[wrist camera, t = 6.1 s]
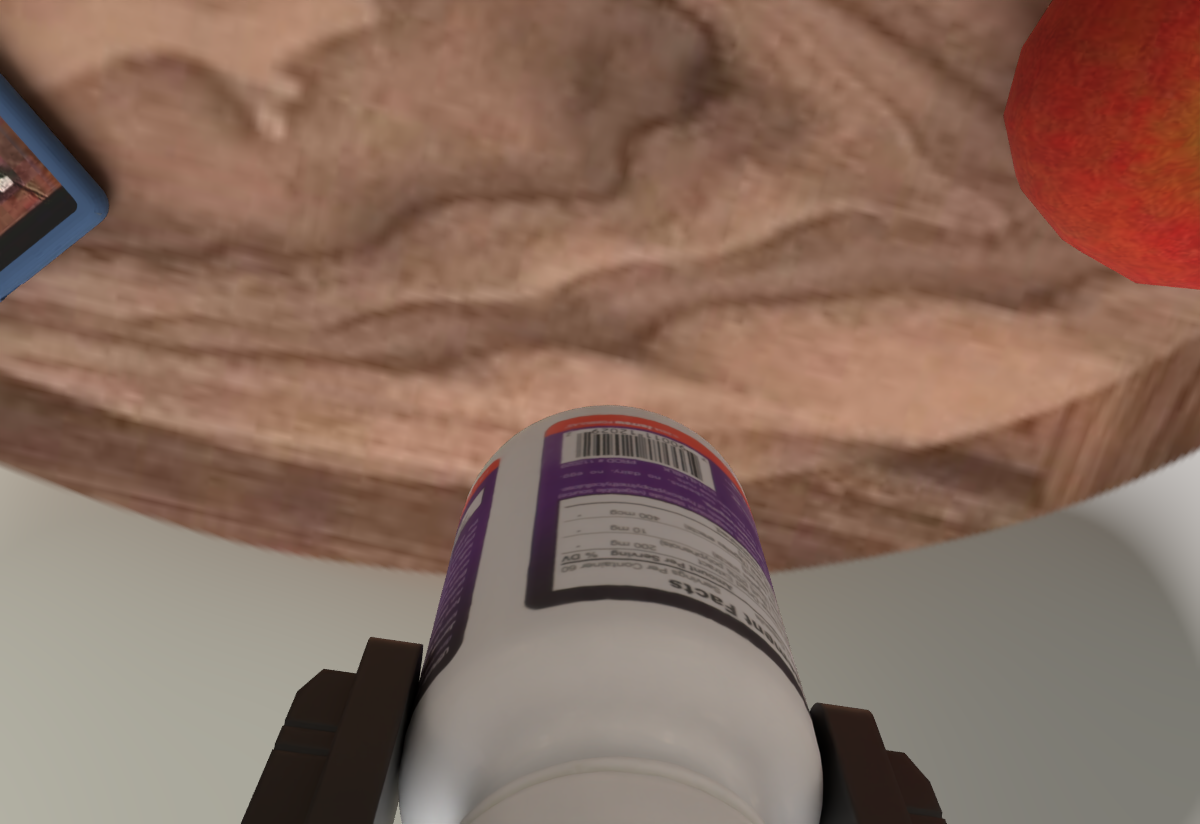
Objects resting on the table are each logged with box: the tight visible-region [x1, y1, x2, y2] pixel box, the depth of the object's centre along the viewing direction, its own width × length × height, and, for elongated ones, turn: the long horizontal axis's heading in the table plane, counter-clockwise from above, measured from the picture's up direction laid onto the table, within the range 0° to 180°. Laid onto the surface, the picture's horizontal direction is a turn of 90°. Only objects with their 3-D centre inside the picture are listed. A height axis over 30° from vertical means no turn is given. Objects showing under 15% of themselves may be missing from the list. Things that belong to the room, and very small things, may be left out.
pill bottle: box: [399, 405, 823, 824], centre depth 15 cm, size 5×5×10 cm
